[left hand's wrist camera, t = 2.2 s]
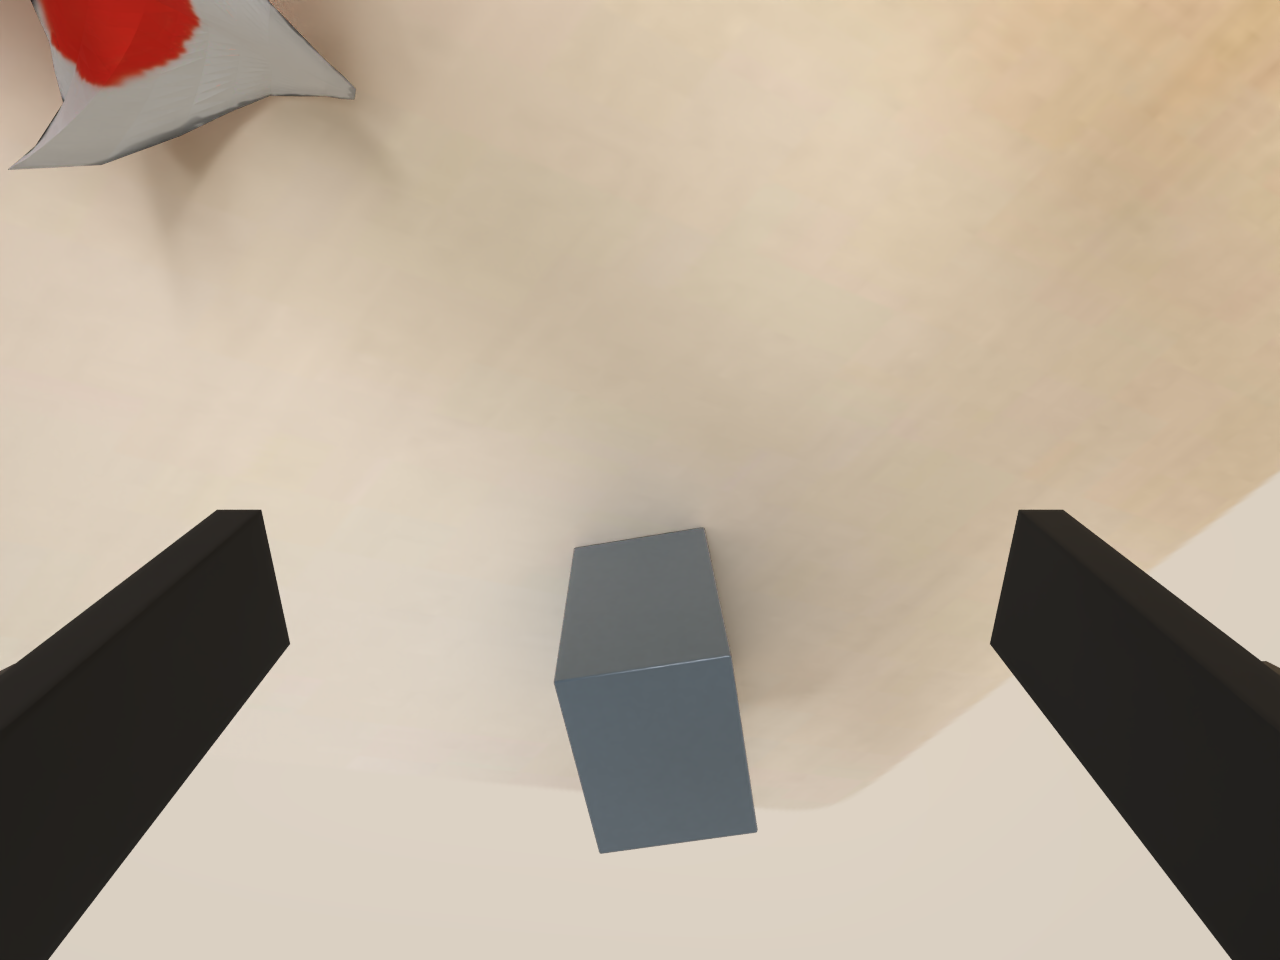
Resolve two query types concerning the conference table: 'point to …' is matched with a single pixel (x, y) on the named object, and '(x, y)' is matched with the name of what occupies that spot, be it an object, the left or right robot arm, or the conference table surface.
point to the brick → (652, 694)
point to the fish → (165, 71)
